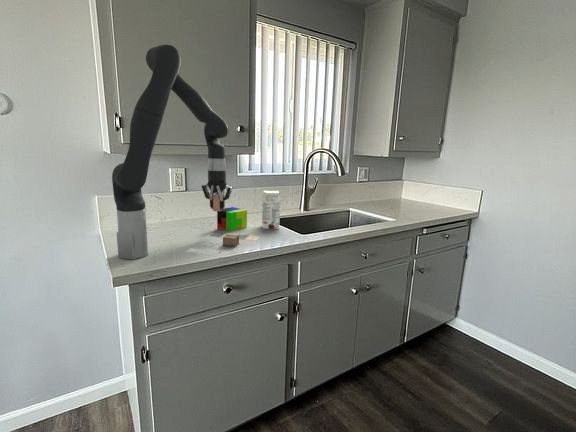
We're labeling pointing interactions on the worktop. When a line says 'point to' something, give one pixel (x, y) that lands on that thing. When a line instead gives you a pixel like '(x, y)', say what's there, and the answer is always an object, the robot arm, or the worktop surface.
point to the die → (230, 240)
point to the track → (218, 234)
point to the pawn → (216, 202)
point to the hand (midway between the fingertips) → (217, 208)
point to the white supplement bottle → (271, 209)
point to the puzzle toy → (232, 219)
